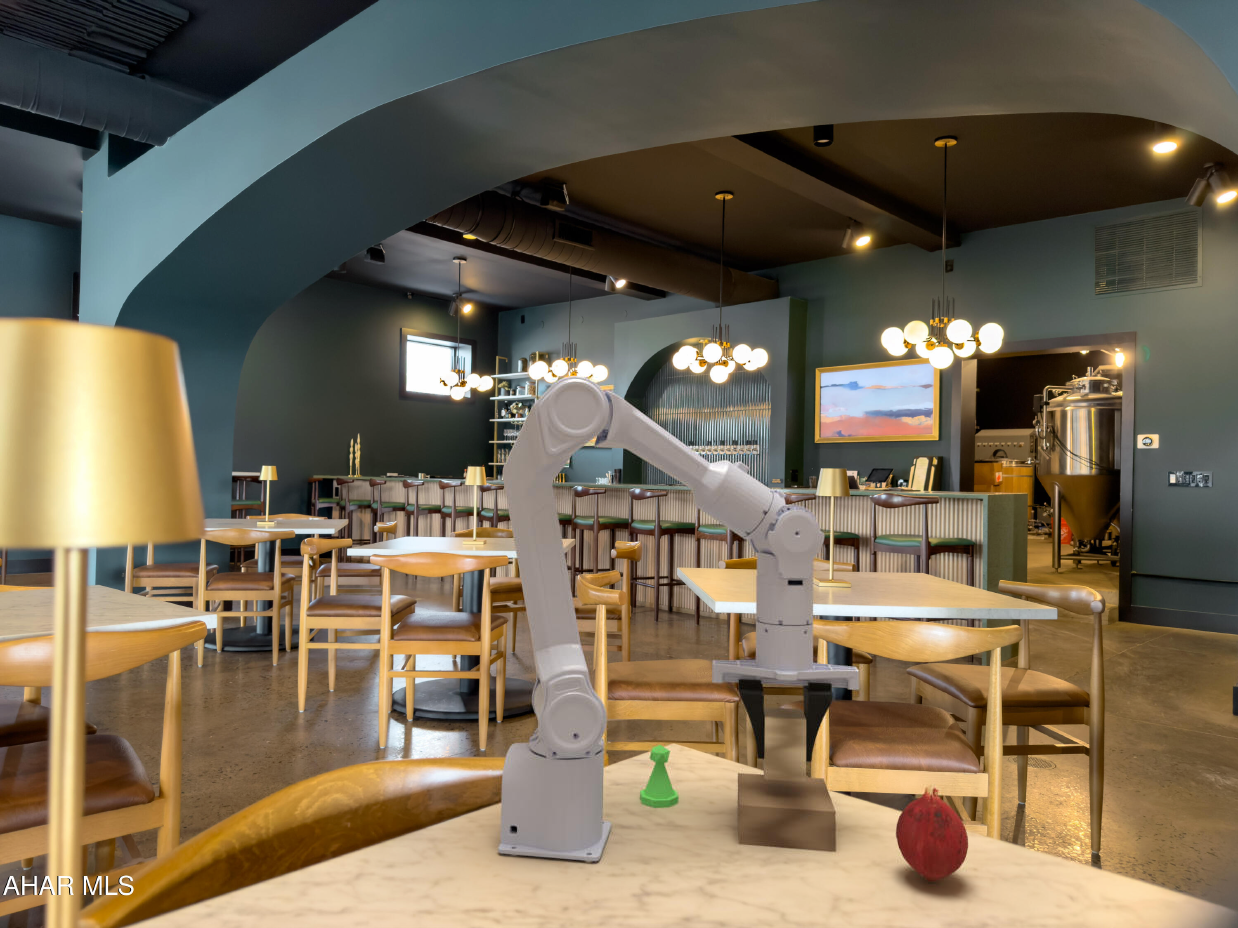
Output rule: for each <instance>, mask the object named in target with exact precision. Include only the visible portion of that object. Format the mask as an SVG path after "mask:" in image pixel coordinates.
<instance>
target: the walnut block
mask: <svg viewBox="0 0 1238 928" xmlns="http://www.w3.org/2000/svg"><path fill="white" fill-rule="evenodd" d="M836 813H837V811H836V810H835V806H834V803H833V801H832V798H831V795H830V793H829V790H828V787H827V785H826V781H825V778H821V777H820V778H819V777H808V776H806V782H798V781H783V780H769V779H764V774H758V773H744V772H743V773H741V772H738V773H737V829H738V844H739V845H741V846H742V845H743V846H753V847H755V846H756V847H767V848H779V849H781V848H782V849H794V850H806V851H818V852H819V851H821V852H829V853H830V852H832V853H836V851H837V850H836V849H837V848H836V847H837V846H836V845H837V844H836V843H837V842H836V841H837V839H836V835H837V833H836V831H837V830H836V821H837V818H836V817H837V816H836V815H837V814H836Z"/></svg>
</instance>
